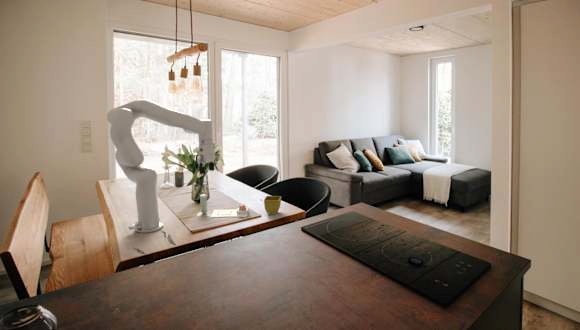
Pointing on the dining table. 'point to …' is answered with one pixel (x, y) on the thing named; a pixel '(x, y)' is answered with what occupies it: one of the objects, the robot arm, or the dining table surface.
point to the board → (230, 213)
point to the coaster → (204, 214)
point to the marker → (203, 203)
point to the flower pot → (272, 204)
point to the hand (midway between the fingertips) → (207, 172)
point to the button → (242, 207)
